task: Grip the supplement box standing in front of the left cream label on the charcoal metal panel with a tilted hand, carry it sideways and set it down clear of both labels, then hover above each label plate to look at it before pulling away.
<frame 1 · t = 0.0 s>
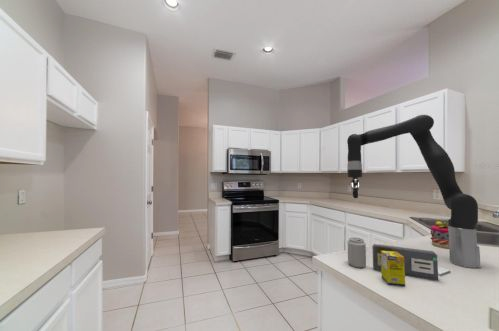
hand: (355, 197, 117), 29 cm above the worktop, tool pointing down, fingers open, 8 cm apart
supplement box: (393, 282, 80), on the worktop
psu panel: (403, 273, 87), on the worktop
external hard drive: (428, 270, 92), on the worktop
can: (356, 265, 95), on the worktop
cake: (442, 246, 121), on the worktop
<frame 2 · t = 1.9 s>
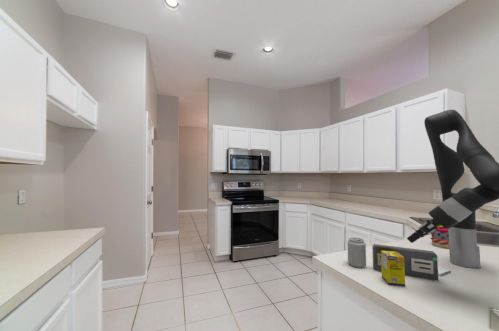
hand: (411, 238, 81), 17 cm above the worktop, tool tilted 45°, fingers open, 8 cm apart
nothing on the worktop moved.
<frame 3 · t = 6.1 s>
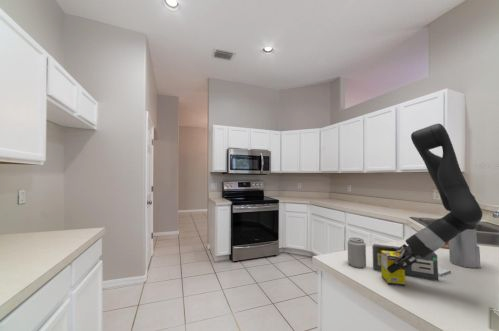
hand: (388, 266, 81), 5 cm above the worktop, tool tilted 45°, fingers closed on supplement box, 7 cm apart
supplement box: (393, 282, 80), on the worktop, touching gripper
everything else where it was.
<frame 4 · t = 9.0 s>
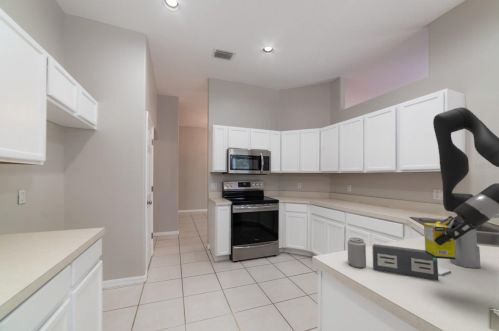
hand: (433, 239, 74), 18 cm above the worktop, tool tilted 45°, fingers closed on supplement box, 7 cm apart
supplement box: (439, 256, 73), point 13 cm above the worktop, touching gripper
everything else where it was.
when the fingers open (7 cm above the worktop, at t = 12.2 s): supplement box drops 1 cm, on the worktop.
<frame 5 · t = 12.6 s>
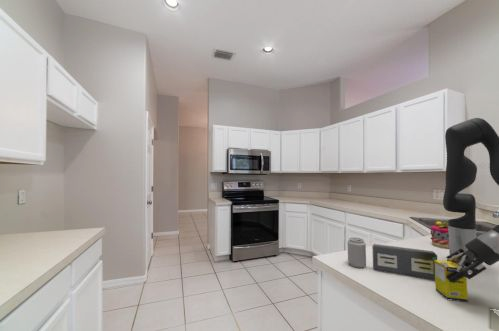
hand: (444, 274, 71), 7 cm above the worktop, tool tilted 45°, fingers open, 8 cm apart
supplement box: (451, 296, 71), on the worktop
everything else where it was.
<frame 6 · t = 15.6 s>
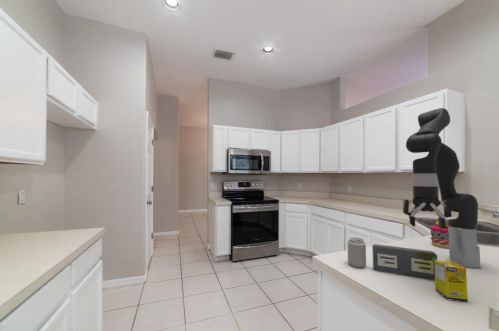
hand: (426, 226, 79), 22 cm above the worktop, tool pointing down, fingers open, 8 cm apart
nothing on the worktop moved.
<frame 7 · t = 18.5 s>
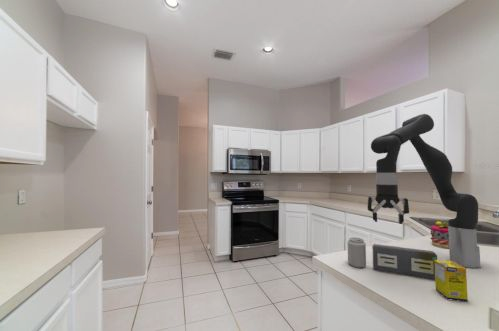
hand: (387, 222, 85), 22 cm above the worktop, tool pointing down, fingers open, 8 cm apart
nothing on the worktop moved.
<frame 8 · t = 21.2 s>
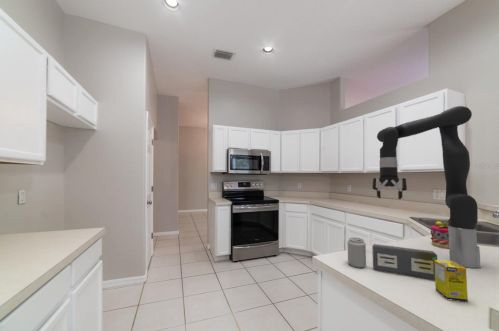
hand: (389, 198, 103), 30 cm above the worktop, tool pointing down, fingers open, 8 cm apart
nothing on the worktop moved.
at the end: supplement box inside the target area (0.8 cm from its centre), on the worktop; supplement box tilted 0°; the gripper is holding nothing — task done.
